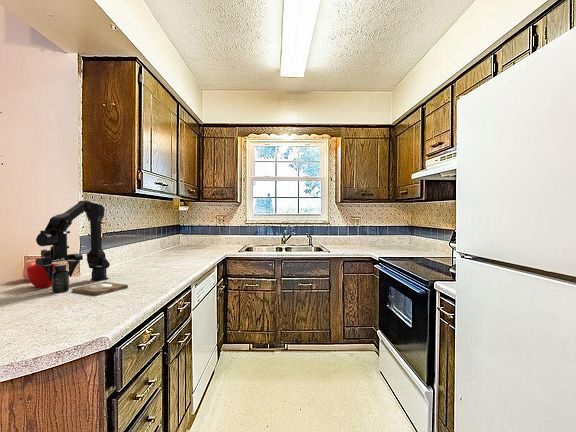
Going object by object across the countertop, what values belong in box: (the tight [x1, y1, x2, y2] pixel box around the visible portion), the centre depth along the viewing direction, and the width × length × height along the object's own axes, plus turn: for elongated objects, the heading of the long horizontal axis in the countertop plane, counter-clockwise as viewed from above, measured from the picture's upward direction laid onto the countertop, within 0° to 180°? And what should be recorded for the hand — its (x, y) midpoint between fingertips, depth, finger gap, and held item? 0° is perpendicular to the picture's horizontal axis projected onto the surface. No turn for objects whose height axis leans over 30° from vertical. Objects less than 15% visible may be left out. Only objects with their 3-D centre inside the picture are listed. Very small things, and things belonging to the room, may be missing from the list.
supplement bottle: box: [51, 264, 70, 294], centre depth 172 cm, size 7×7×12 cm
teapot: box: [22, 256, 43, 282], centre depth 200 cm, size 20×12×12 cm, turn 17°
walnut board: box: [71, 281, 129, 297], centre depth 175 cm, size 17×16×2 cm
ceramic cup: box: [27, 263, 59, 289], centre depth 184 cm, size 13×17×10 cm
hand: (60, 277), depth 173 cm, fingers open, 9 cm apart
